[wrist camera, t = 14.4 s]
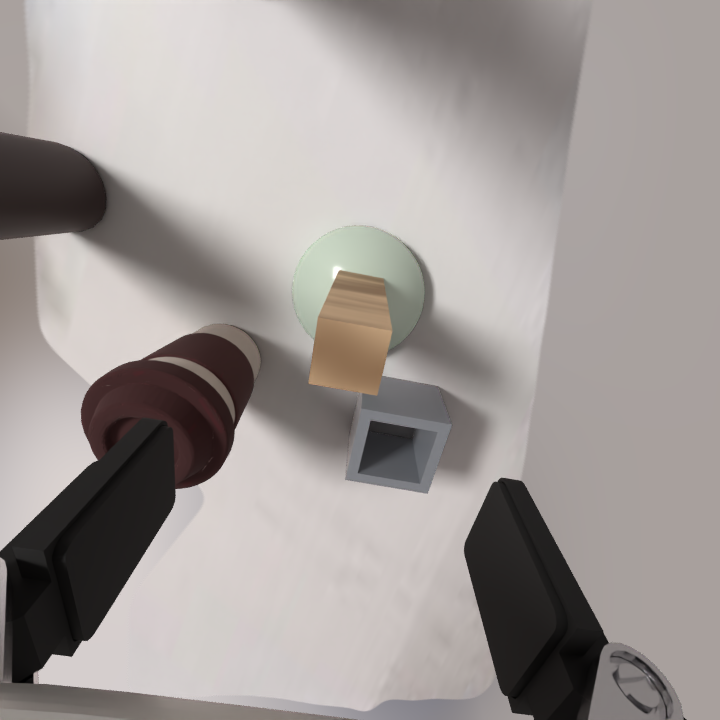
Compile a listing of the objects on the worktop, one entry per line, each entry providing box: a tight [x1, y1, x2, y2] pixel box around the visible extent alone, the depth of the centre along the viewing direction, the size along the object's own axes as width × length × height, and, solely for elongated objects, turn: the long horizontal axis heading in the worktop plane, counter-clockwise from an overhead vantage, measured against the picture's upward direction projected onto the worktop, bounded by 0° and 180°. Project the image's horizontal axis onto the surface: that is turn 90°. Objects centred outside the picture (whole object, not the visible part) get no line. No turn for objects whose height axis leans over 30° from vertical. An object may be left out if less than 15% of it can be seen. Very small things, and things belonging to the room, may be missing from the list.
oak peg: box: [308, 270, 392, 396], centre depth 26 cm, size 4×4×14 cm
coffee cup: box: [81, 324, 261, 489], centre depth 30 cm, size 10×10×15 cm
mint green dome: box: [292, 225, 425, 350], centre depth 33 cm, size 12×12×1 cm
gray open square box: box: [345, 376, 452, 494], centre depth 36 cm, size 8×8×7 cm
